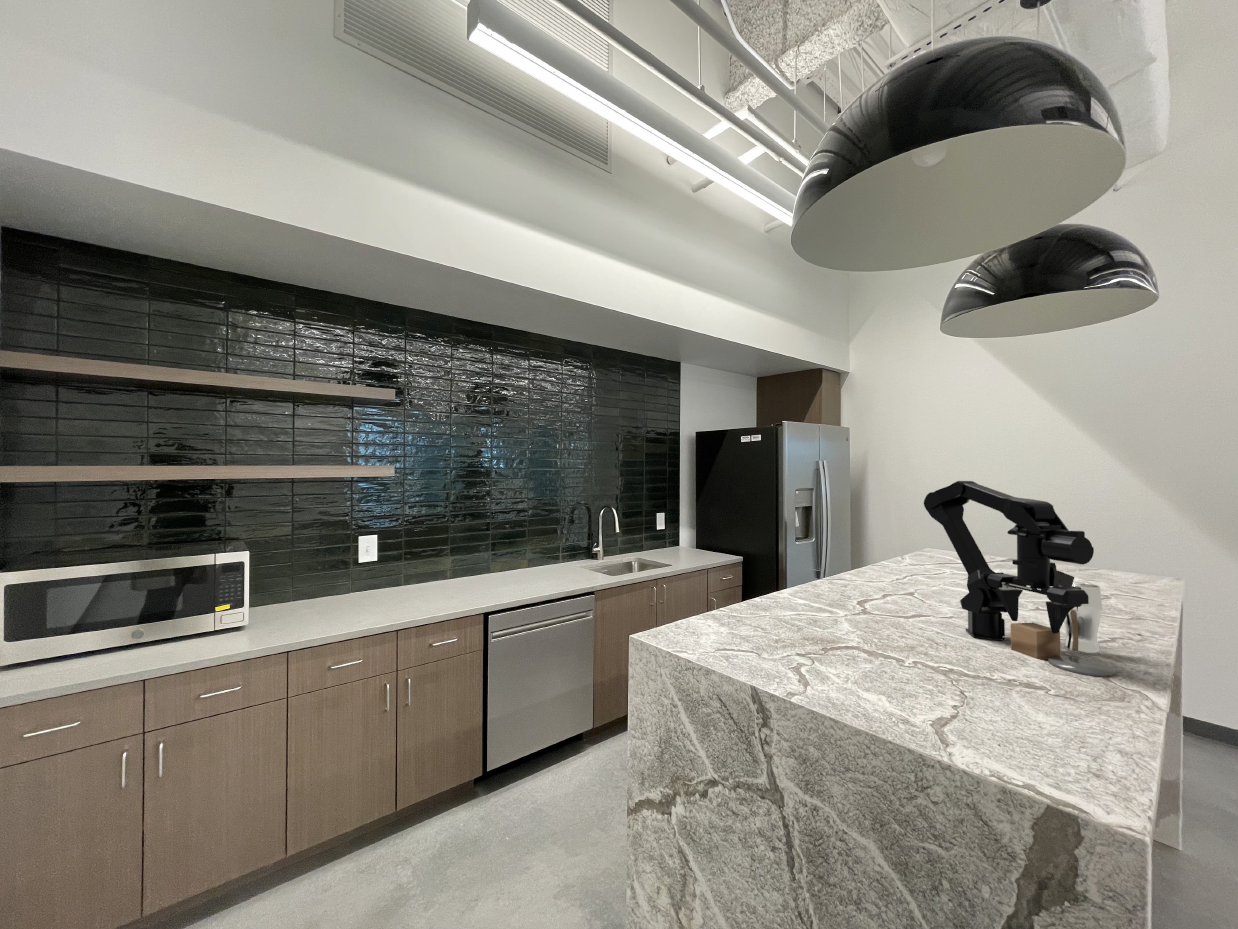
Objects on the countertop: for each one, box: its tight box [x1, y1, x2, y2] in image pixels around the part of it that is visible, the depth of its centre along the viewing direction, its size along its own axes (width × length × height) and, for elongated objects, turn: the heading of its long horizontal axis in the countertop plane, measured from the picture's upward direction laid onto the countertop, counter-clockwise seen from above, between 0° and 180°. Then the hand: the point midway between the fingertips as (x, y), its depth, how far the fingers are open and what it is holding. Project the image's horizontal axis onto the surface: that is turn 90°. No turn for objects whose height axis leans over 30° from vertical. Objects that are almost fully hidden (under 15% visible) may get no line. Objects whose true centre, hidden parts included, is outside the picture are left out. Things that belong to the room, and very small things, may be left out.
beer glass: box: [1063, 581, 1103, 656], centre depth 113 cm, size 7×7×15 cm
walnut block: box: [1010, 622, 1061, 660], centre depth 111 cm, size 6×6×6 cm
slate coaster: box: [1048, 655, 1116, 678], centre depth 103 cm, size 10×10×1 cm
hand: (1034, 626), depth 111 cm, fingers open, 9 cm apart
